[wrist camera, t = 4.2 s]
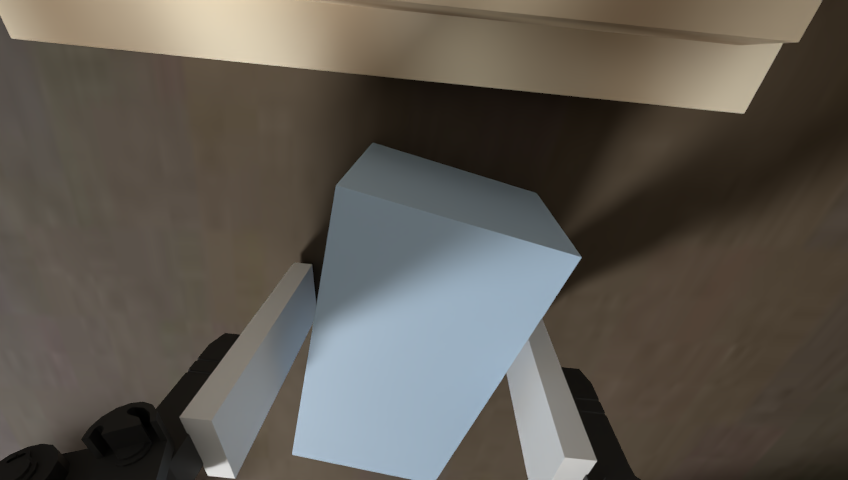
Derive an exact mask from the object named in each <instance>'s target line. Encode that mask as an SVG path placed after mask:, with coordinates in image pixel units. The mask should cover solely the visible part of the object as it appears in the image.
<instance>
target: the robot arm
mask: <svg viewBox="0 0 848 480" xmlns="http://www.w3.org/2000/svg"><path fill="white" fill-rule="evenodd" d="M315 311H316V297H315V287H314V277H313V267H312V264H304V263H295V262H294V263H293V264H292V266H291V267H290V268H289V270H288V271H287V273H286V274H285V275H284V277H283V278H282V279H281V281H280V282H279V283H278V285H277V286H276V287H275V289H274V290H273V291H272V293H271V294H270V295H269V297H268V298H267V300H266V301H265V302H264V304H263V305H262V306H261V308H260V309H259V310H258V312H257V313H256V314H255V316H254V317H253V318H252V320H251V321H250V322H249V324H248V325H247V327H246V328H245V329H244V331H243V332H242V333H241V335H238V334H228V333H225V334H223V335H222V336H220V337H219V338H218V339H216V340H215V341H213V342H212V343H211V344H209V345H208V347H207V348H206V349H205V350H204V351H203V353H202V354H201V355H200V356H199V358H198V360H197V361H195V362H194V364H193V365H192V366H191V367H190V368H189V370H188V373H185V374H184V376H183V377H182V378H181V379H180V381H179V382H178V383H177V384H176V385H175V387H174V388H173V389H172V390H171V391H170V393H169V394H168V395H167V396H166V397H165V399H164V400H163V401H162V402H161V404H160V405H159V406H158V407H157V408H156V409H155V407H154V406H153V405H152V404H149V403H145V402H137V403H130V404H127V405H124V406H121V407H118V408H116V409H114V410H113V411H111V412H109V413H107V414H106V415H104V416H102V417H101V418H100V419H99V420H98V421H97V422H95V423H94V424H93V425H92V426H91V427H90V428H89V429H88V431H87V432H86V433H85V435H84V436H83V438H82V439H81V440H82V441H83V442H84V443H85V445H86V446H87V447H88V448H89V449H84V450H79V451H75V452H70V453H65V454H61V453H60V452H59V451H58V450H57V449H56V448H55V447H54V446H53V445H48V444H39V445H35V446H30V447H26V448H24V449H22V450H20V451H17V452H15V453H13V454H11V455H9V456H7V457H6V458H4V459H3V460H1V461H0V480H195V478H196V476H197V474H198V473H199V471H200V469H201V468H202V466H203V467H204V469H205V471H206V473H207V475H208V476H214V477H224V478H234V479H235V478H236V476H237V474H238V472H239V470H240V468H241V466H242V464H243V462H244V460H245V458H246V456H247V454H248V452H249V450H250V448H251V446H252V444H253V442H254V440H255V438H256V436H257V434H258V432H259V430H260V428H261V426H262V424H263V422H264V420H265V418H266V416H267V414H268V412H269V410H270V408H271V406H272V404H273V402H274V400H275V398H276V396H277V394H278V392H279V390H280V388H281V386H282V384H283V382H284V380H285V378H286V376H287V374H288V372H289V370H290V368H291V366H292V364H293V362H294V360H295V358H296V356H297V354H298V352H299V350H300V348H301V346H302V344H303V342H304V339H305V337H306V335H307V333H308V331H309V329H310V327H311V325H312V323H313V321H314V317H315ZM506 373H507V378H508V383H509V388H510V393H511V398H512V403H513V408H514V412H515V417H516V422H517V427H518V432H519V437H520V442H521V447H522V452H523V457H524V462H525V466H526V471H527V476H528V480H640V479H639V478H637V477H636V476H635V475H634V473H633V471H632V470H631V468H630V466H629V464H628V462H627V460H626V457H625V455H624V453H623V451H622V449H621V447H620V444H619V442H618V440H617V438H616V436H615V434H614V431H613V429H612V427H611V425H610V423H609V421H608V418H607V416H606V415H605V414H604V413H605V412H604V410H603V408H602V405H601V403H600V402H599V401H598V397H597V395H596V392H595V390H594V388H593V386H592V384H591V382H590V381H589V380H588V379H587V378H586V377H585V376H584V374H583V373H582V372H581V371H580V370H579V369H573V368H563V367H561V366H560V363H559V361H558V358H557V356H556V353H555V350H554V348H553V345H552V343H551V340H550V337H549V335H548V332H547V330H546V327H545V325H544V322H543V319H541V320H540V322H539V323H538V325H537V326H536V328H535V330H534V331H533V333H532V334H531V336H530V337H529V339H528V340H527V342H526V343H525V345H524V346H523V348H522V349H521V351H520V352H519V354H518V355H517V357H516V358H515V360H514V362H513V363H512V365H511V366H510V368H509V369H508V371H507V372H506Z"/></svg>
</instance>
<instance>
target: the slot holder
mask: <svg viewBox="0 0 848 480" xmlns="http://www.w3.org/2000/svg"><path fill="white" fill-rule="evenodd" d="M822 1H823V0H0V16H1V18H2V20H3V22H4V24H5V26H6V28H7V30H8V33H9V35H10V37H11V38H12V39H22V40H31V41H41V42H51V43H61V44H70V45H80V46H90V47H100V48H109V49H119V50H129V51H138V52H148V53H158V54H168V55H177V56H187V57H197V58H207V59H216V60H226V61H236V62H245V63H255V64H265V65H275V66H284V67H294V68H304V69H314V70H323V71H333V72H343V73H352V74H362V75H372V76H382V77H391V78H401V79H411V80H421V81H430V82H440V83H450V84H459V85H469V86H479V87H489V88H498V89H508V90H518V91H528V92H537V93H547V94H557V95H567V96H576V97H586V98H596V99H605V100H615V101H625V102H635V103H644V104H654V105H664V106H674V107H683V108H693V109H703V110H712V111H722V112H732V113H742V114H744V113H745V111H746V109H747V108H748V106H749V104H750V102H751V100H752V99H753V97H754V95H755V93H756V91H757V90H758V88H759V86H760V84H761V82H762V81H763V79H764V77H765V75H766V73H767V72H768V70H769V68H770V66H771V64H772V63H773V61H774V59H775V57H776V55H777V53H778V52H779V50H780V48H781V46H782V44H783V43H794V42H799V41H800V39H801V37H802V35H803V34H804V32H805V30H806V28H807V27H808V25H809V23H810V21H811V20H812V18H813V16H814V15H815V13H816V11H817V9H818V8H819V6H820V4H821V2H822Z"/></svg>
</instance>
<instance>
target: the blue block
mask: <svg viewBox="0 0 848 480" xmlns="http://www.w3.org/2000/svg"><path fill="white" fill-rule="evenodd" d="M581 258H582V257H581V255H580V254H579V253H578V251H577V250H576V248H575V247H574V245H573V244H572V243H571V241H570V240H569V238H568V237H567V236H566V234H565V233H564V231H563V230H562V228H561V227H560V226H559V224H558V223H557V221H556V220H555V218H554V217H553V216H552V214H551V213H550V211H549V210H548V209H547V207H546V206H545V204H544V203H543V201H542V200H541V199H540V197H539V196H538V194H537V193H535V192H531V191H528V190H525V189H522V188H518V187H515V186H512V185H509V184H506V183H502V182H499V181H496V180H493V179H489V178H486V177H483V176H480V175H476V174H473V173H470V172H467V171H464V170H460V169H457V168H454V167H451V166H447V165H444V164H441V163H438V162H434V161H431V160H428V159H425V158H421V157H418V156H415V155H412V154H409V153H405V152H402V151H399V150H396V149H392V148H389V147H386V146H383V145H379V144H376V143H372V144H371V145H370V146H369V147H368V149H367V150H366V151H365V152H364V153H363V154H362V156H361V157H360V158H359V159H358V160H357V161H356V163H355V164H354V165H353V166H352V167H351V168H350V169H349V171H348V172H347V173H346V174H345V175H344V176H343V178H342V179H341V180H340V181H339V182H338V183H337V185H336V188H335V194H334V200H333V206H332V212H331V218H330V225H329V231H328V237H327V243H326V249H325V255H324V261H323V268H322V274H321V280H320V286H319V292H318V298H317V304H316V311H315V317H314V323H313V329H312V335H311V341H310V347H309V354H308V360H307V366H306V372H305V378H304V384H303V391H302V397H301V403H300V409H299V415H298V421H297V427H296V434H295V440H294V446H293V452H292V455H296V456H301V457H306V458H310V459H315V460H320V461H325V462H330V463H334V464H339V465H344V466H349V467H354V468H359V469H363V470H368V471H373V472H378V473H383V474H388V475H392V476H397V477H402V478H407V479H412V480H436V479H437V477H438V476H439V474H440V473H441V471H442V470H443V468H444V467H445V465H446V464H447V462H448V461H449V459H450V458H451V456H452V455H453V453H454V452H455V450H456V449H457V447H458V445H459V444H460V442H461V441H462V439H463V438H464V436H465V435H466V433H467V432H468V430H469V429H470V427H471V426H472V424H473V423H474V421H475V420H476V418H477V416H478V415H479V413H480V412H481V410H482V409H483V407H484V406H485V404H486V403H487V401H488V400H489V398H490V397H491V395H492V394H493V392H494V391H495V389H496V387H497V386H498V384H499V383H500V381H501V380H502V378H503V377H504V375H505V374H506V372H507V371H508V369H509V368H510V366H511V365H512V363H513V362H514V360H515V358H516V357H517V355H518V354H519V352H520V351H521V349H522V348H523V346H524V345H525V343H526V342H527V340H528V339H529V337H530V336H531V334H532V333H533V331H534V330H535V328H536V326H537V325H538V323H539V322H540V320H541V319H542V317H543V316H544V314H545V313H546V311H547V310H548V308H549V307H550V305H551V304H552V302H553V301H554V299H555V297H556V296H557V294H558V293H559V291H560V290H561V288H562V287H563V285H564V284H565V282H566V281H567V279H568V278H569V276H570V275H571V273H572V272H573V270H574V268H575V267H576V265H577V264H578V262H579V261H580V259H581Z"/></svg>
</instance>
